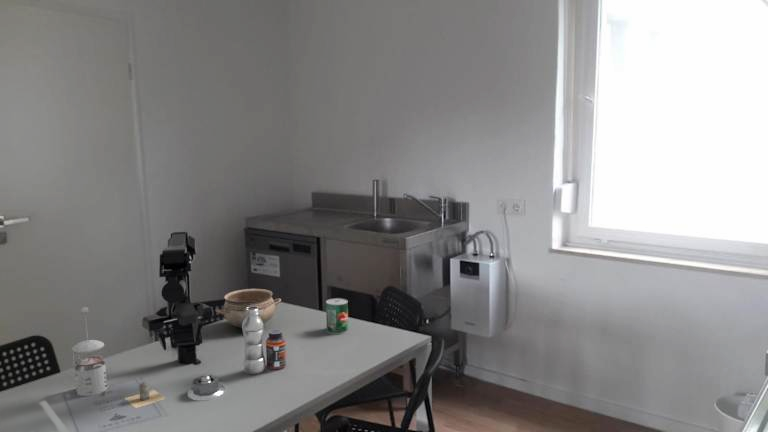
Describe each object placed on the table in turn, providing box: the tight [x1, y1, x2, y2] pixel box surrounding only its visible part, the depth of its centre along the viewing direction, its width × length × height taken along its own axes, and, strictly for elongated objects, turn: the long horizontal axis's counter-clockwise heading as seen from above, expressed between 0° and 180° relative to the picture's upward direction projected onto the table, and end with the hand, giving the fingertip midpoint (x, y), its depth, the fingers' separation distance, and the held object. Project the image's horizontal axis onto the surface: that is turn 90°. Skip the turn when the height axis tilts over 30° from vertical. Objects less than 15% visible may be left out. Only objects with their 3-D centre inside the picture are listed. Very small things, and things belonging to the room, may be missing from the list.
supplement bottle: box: [265, 329, 287, 371], centre depth 183 cm, size 6×6×11 cm
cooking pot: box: [215, 288, 282, 329], centre depth 220 cm, size 25×19×12 cm
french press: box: [71, 306, 108, 397], centre depth 166 cm, size 10×12×25 cm
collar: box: [192, 374, 220, 396], centre depth 164 cm, size 7×7×3 cm
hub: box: [187, 374, 226, 402], centre depth 164 cm, size 10×10×6 cm
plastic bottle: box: [241, 307, 266, 375], centre depth 178 cm, size 6×7×20 cm
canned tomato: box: [325, 297, 349, 335], centre depth 215 cm, size 8×8×11 cm
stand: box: [124, 381, 166, 409], centre depth 160 cm, size 8×8×6 cm
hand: (180, 345), depth 169 cm, fingers open, 9 cm apart
